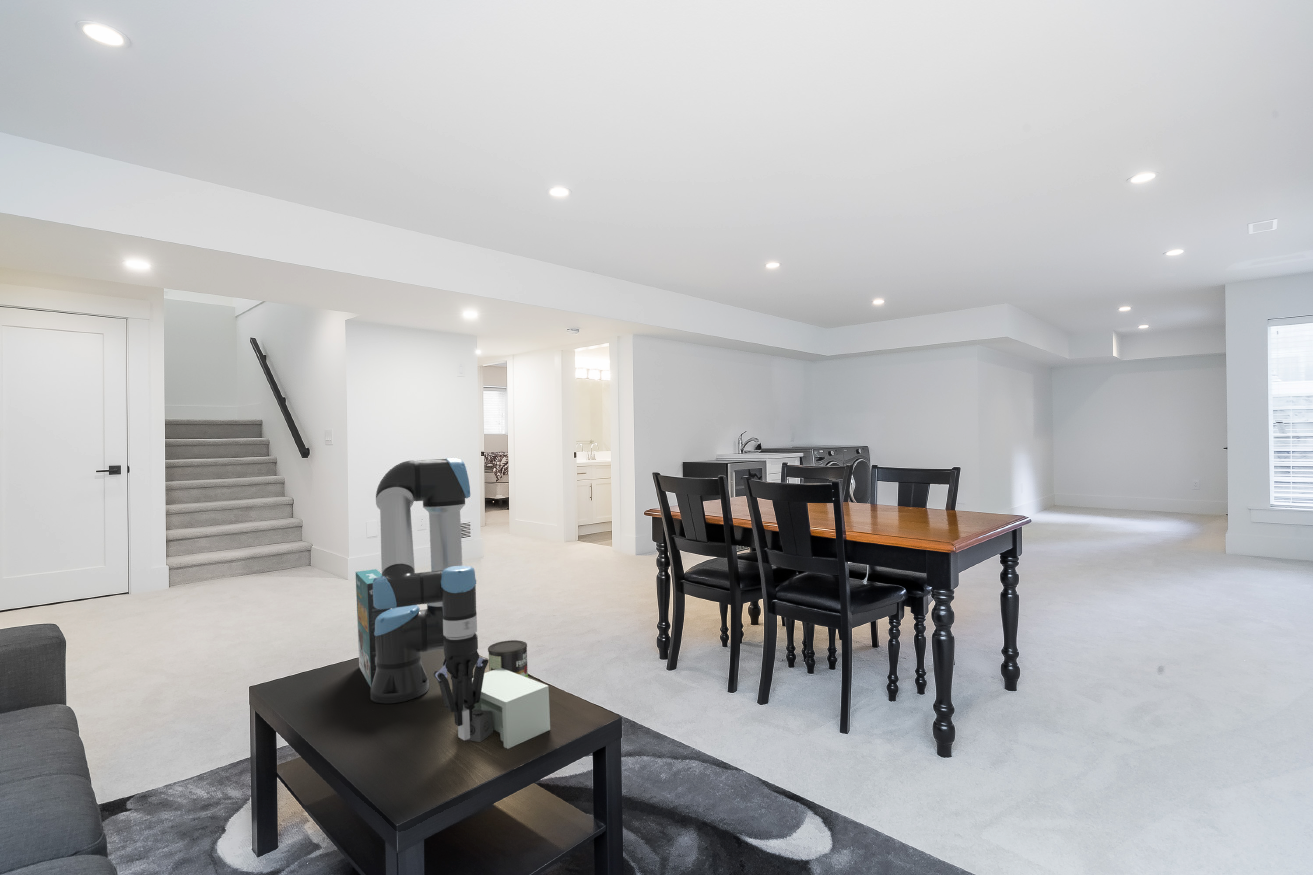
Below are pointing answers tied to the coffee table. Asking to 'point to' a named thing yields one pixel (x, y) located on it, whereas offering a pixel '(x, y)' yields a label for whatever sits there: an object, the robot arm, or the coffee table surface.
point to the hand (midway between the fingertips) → (464, 737)
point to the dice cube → (480, 725)
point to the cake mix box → (367, 622)
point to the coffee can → (509, 656)
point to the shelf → (515, 705)
